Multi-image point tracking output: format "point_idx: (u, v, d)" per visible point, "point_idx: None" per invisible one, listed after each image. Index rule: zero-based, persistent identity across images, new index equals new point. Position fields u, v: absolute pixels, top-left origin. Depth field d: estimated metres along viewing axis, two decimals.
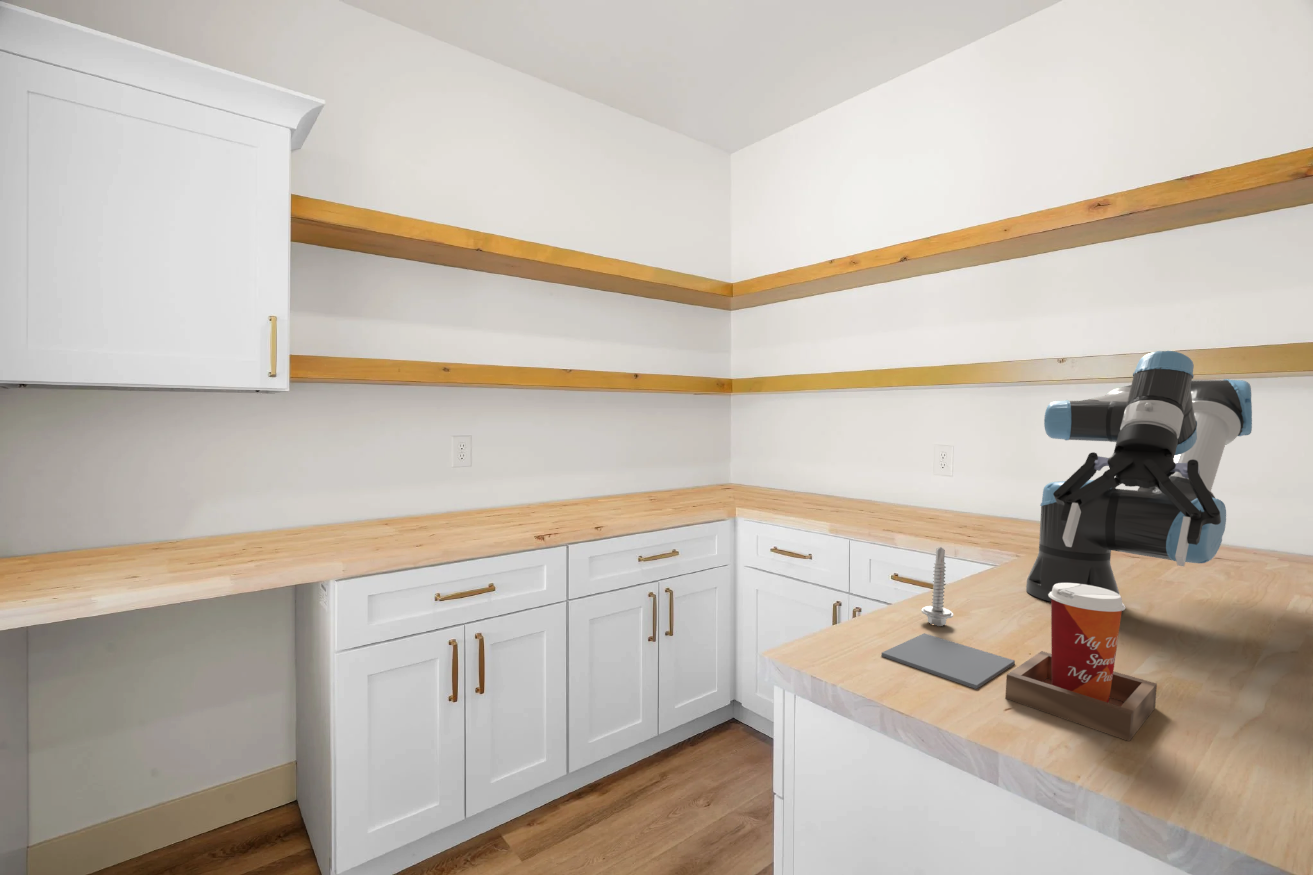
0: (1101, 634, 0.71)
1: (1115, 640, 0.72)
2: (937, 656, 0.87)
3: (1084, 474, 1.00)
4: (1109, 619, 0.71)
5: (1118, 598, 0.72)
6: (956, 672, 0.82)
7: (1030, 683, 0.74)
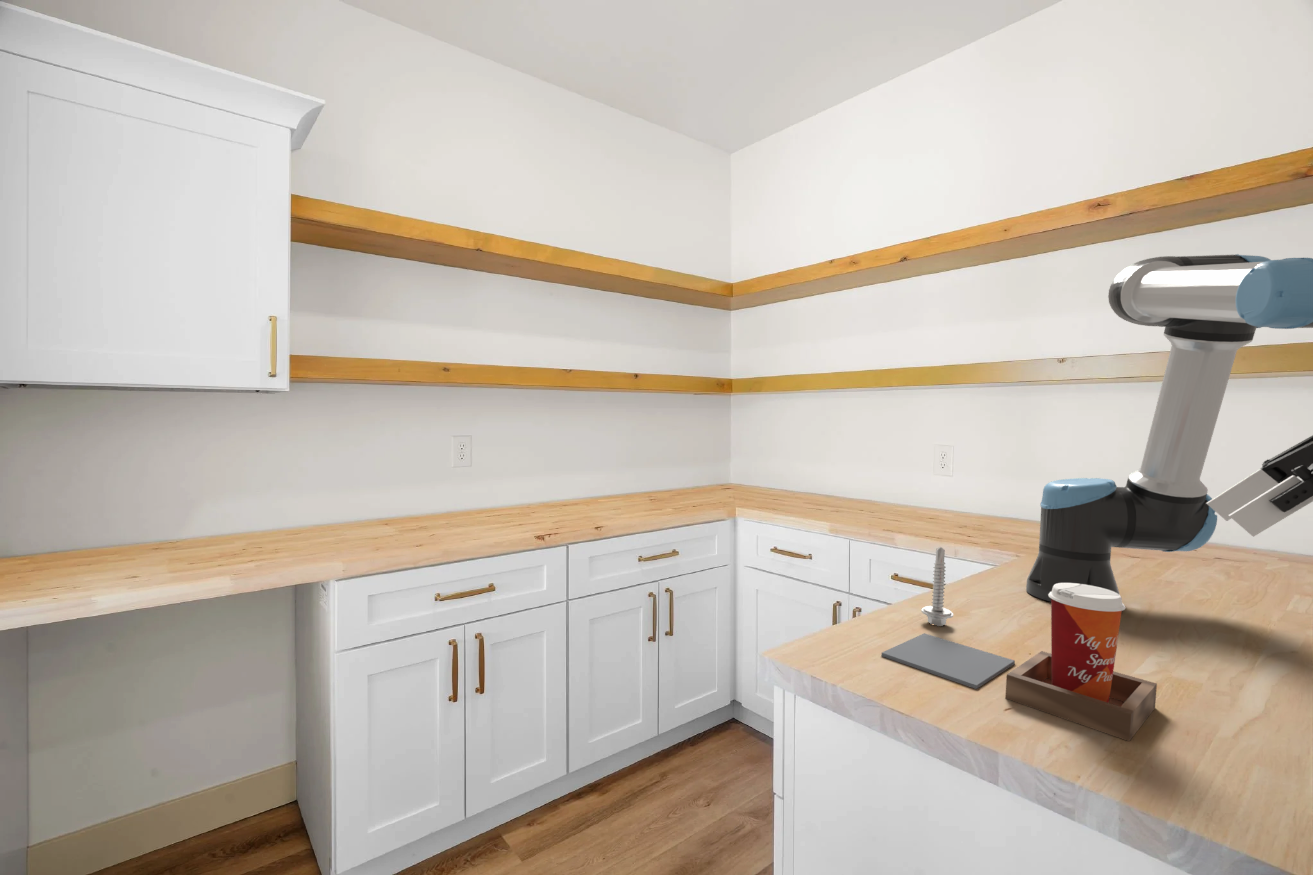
0: (1101, 634, 0.71)
1: (1115, 640, 0.72)
2: (937, 656, 0.87)
3: None
4: (1108, 619, 0.71)
5: (1118, 598, 0.72)
6: (956, 672, 0.82)
7: (1030, 683, 0.74)
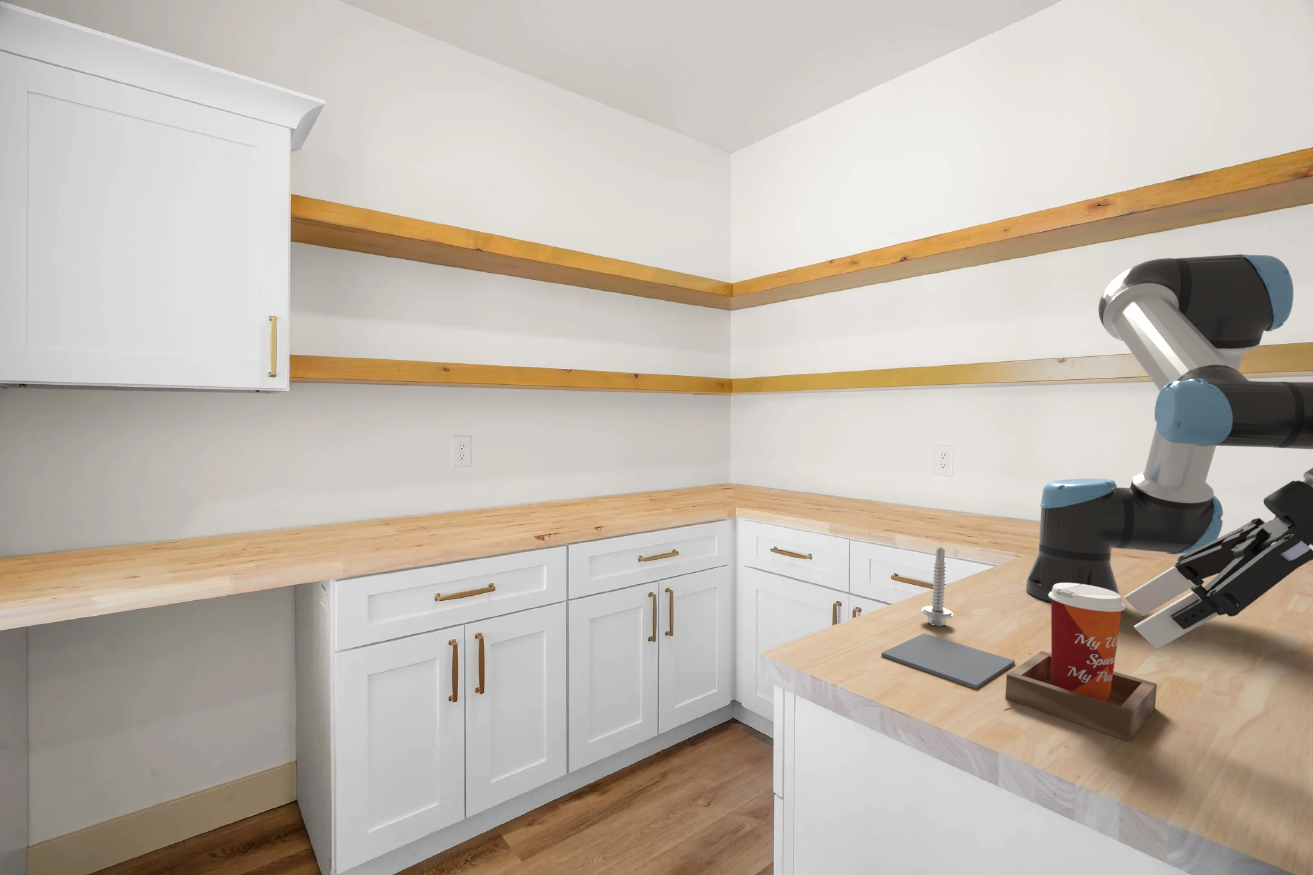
0: (1101, 634, 0.71)
1: (1115, 640, 0.72)
2: (937, 656, 0.87)
3: None
4: (1108, 619, 0.71)
5: (1118, 598, 0.72)
6: (956, 672, 0.82)
7: (1030, 683, 0.74)
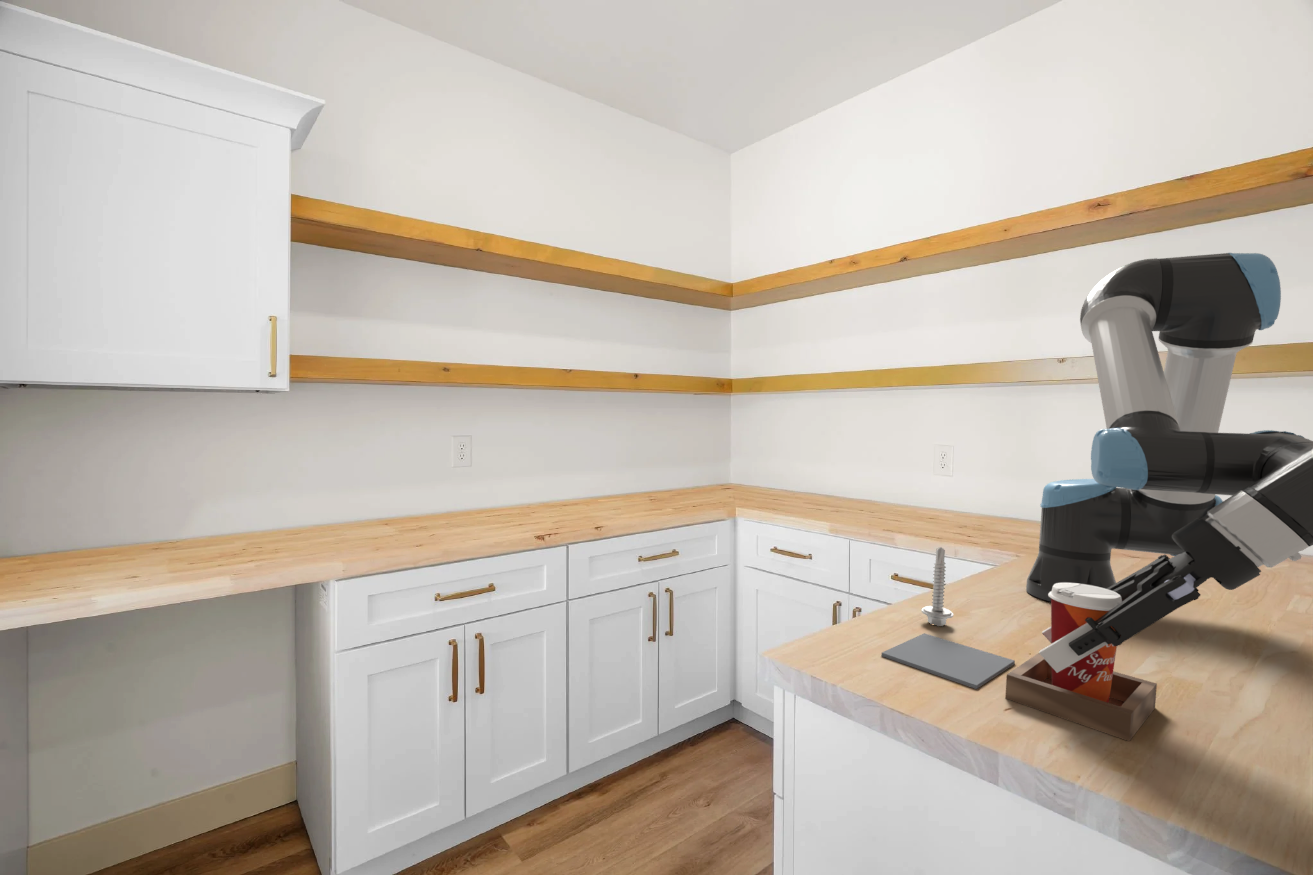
0: None
1: None
2: (937, 656, 0.87)
3: None
4: None
5: (1118, 597, 0.72)
6: (956, 672, 0.82)
7: (1030, 683, 0.74)
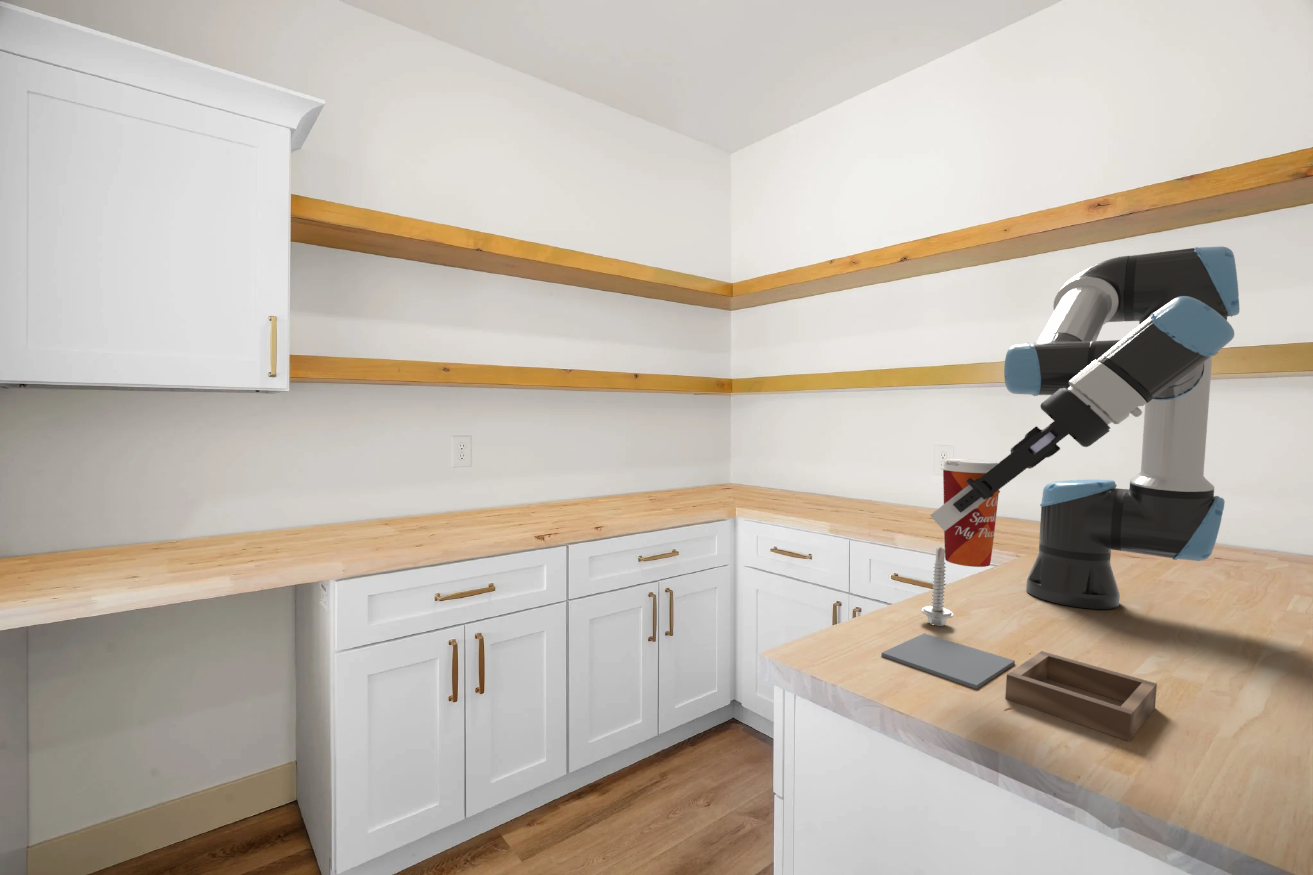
0: None
1: (994, 500, 0.82)
2: (937, 656, 0.87)
3: None
4: None
5: (996, 463, 0.81)
6: (956, 672, 0.82)
7: (1030, 683, 0.74)
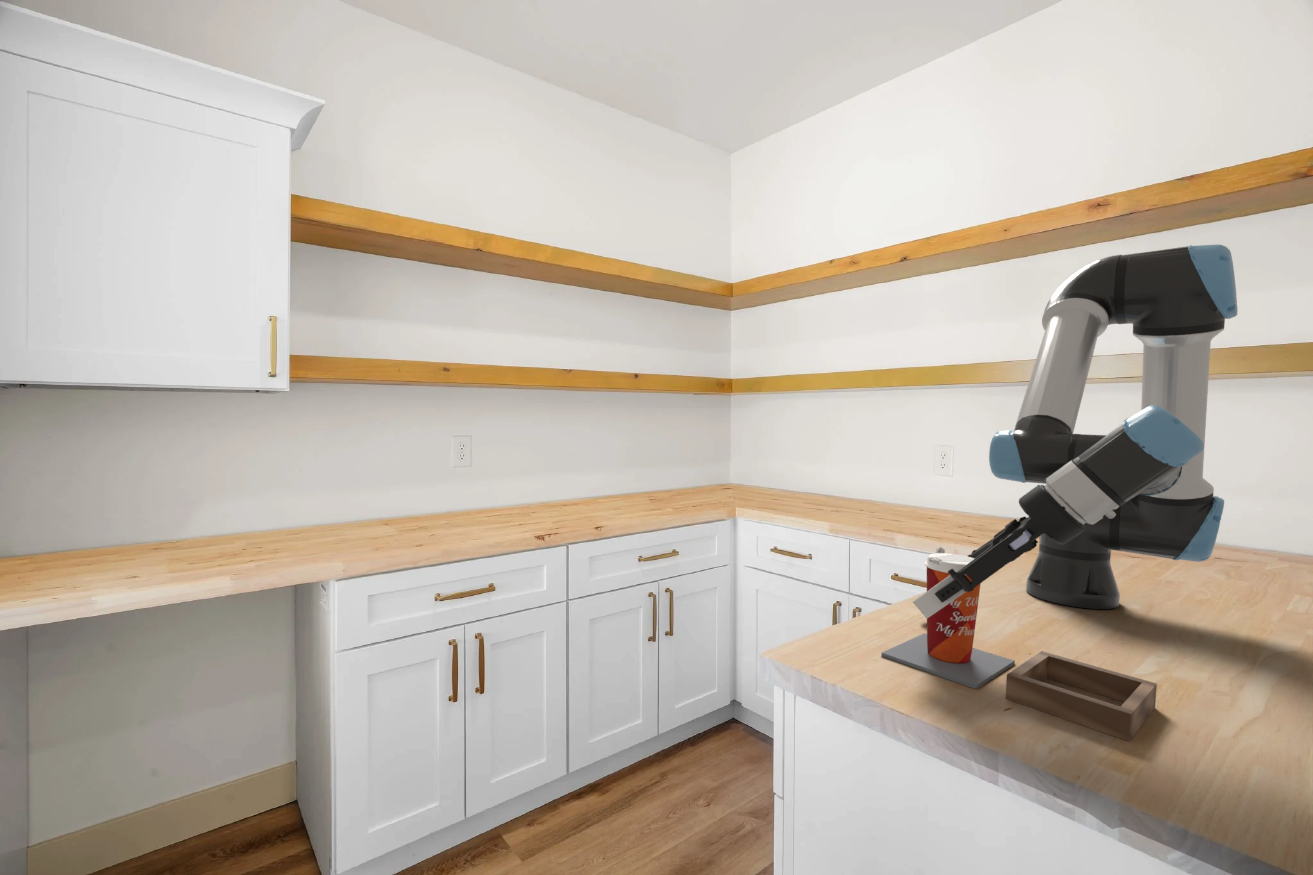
0: (962, 595, 0.84)
1: (974, 600, 0.84)
2: None
3: None
4: None
5: None
6: (956, 672, 0.82)
7: (1030, 683, 0.74)
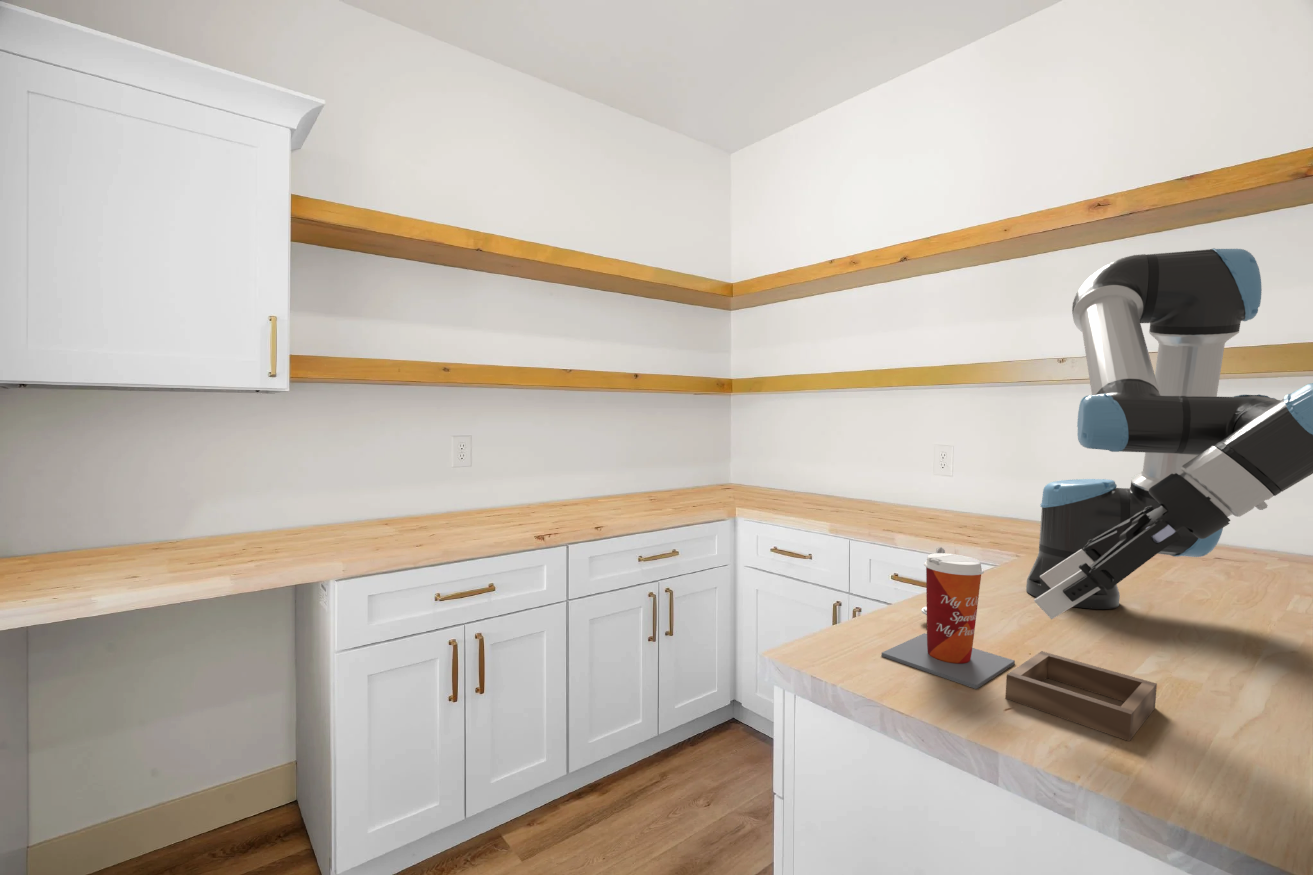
0: (961, 595, 0.84)
1: (974, 600, 0.84)
2: None
3: None
4: (967, 582, 0.84)
5: (976, 564, 0.84)
6: (956, 672, 0.82)
7: (1030, 683, 0.74)
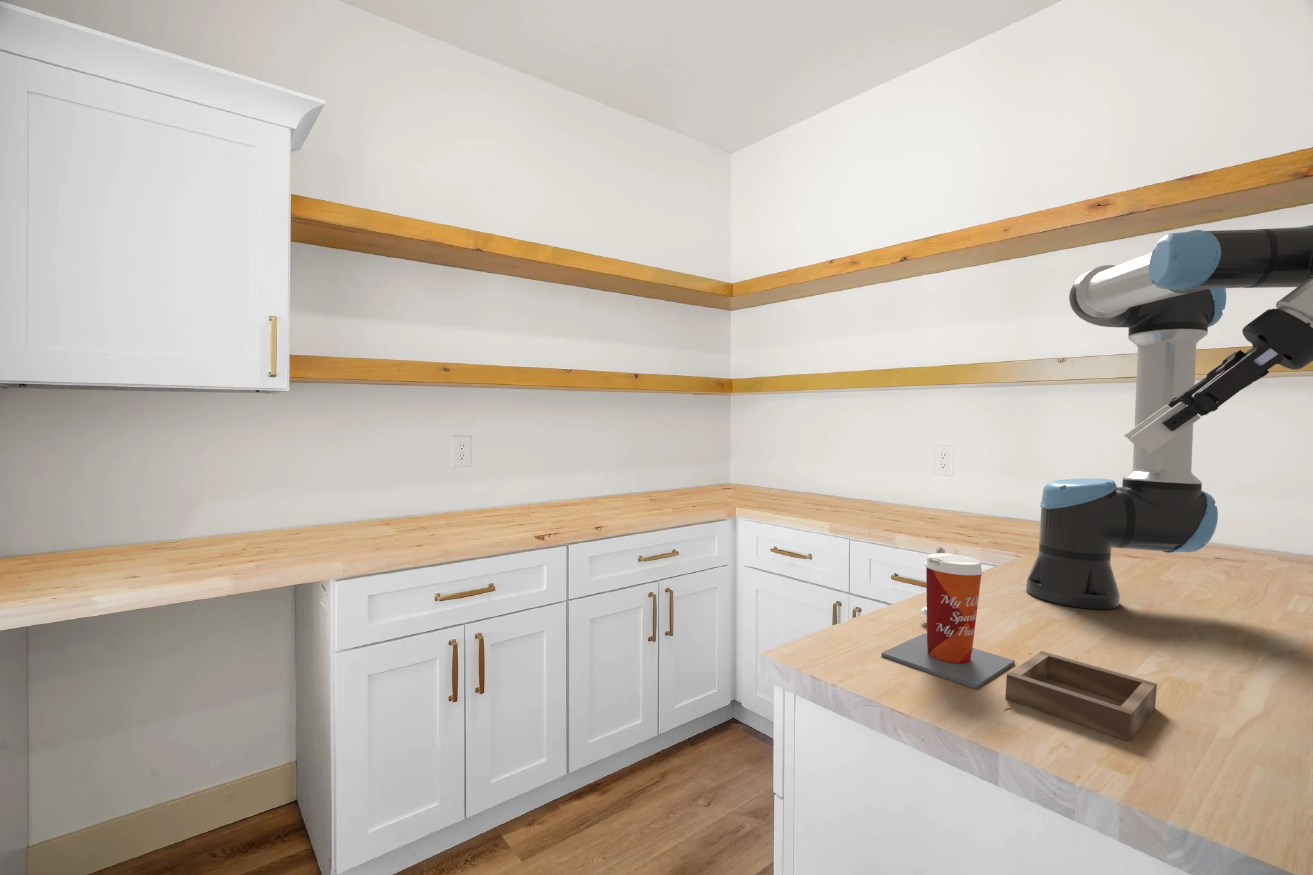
0: (962, 595, 0.84)
1: (974, 600, 0.84)
2: None
3: None
4: (967, 582, 0.84)
5: (976, 564, 0.84)
6: (956, 672, 0.82)
7: (1030, 683, 0.74)
